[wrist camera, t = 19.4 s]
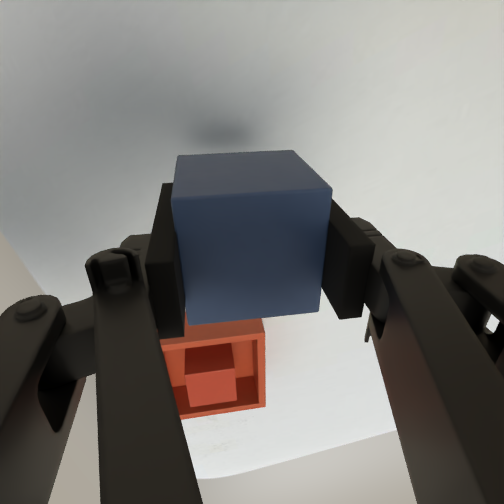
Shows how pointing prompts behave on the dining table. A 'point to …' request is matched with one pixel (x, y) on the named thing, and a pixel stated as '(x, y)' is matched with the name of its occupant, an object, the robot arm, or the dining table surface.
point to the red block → (210, 374)
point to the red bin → (245, 361)
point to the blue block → (249, 234)
